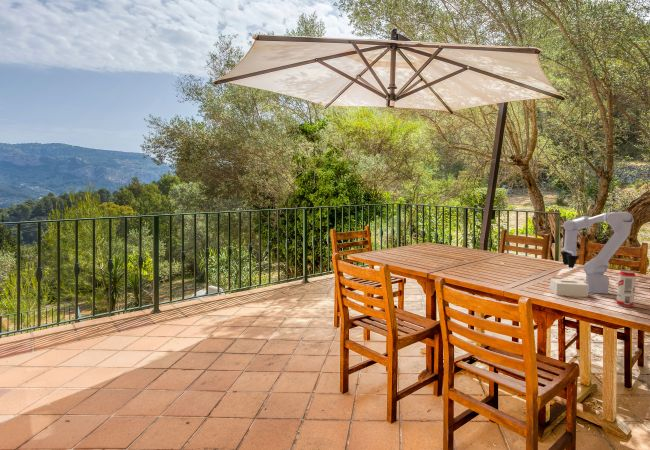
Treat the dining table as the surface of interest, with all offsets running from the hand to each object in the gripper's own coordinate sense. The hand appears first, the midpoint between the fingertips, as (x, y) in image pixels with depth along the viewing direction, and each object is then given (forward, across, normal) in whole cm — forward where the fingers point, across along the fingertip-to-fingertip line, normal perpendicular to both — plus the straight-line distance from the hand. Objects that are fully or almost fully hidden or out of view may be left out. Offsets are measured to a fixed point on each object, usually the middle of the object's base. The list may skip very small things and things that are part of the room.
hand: (568, 266), depth 215 cm
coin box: (+10, +20, -6) cm, 23 cm away
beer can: (+10, +36, +12) cm, 39 cm away
